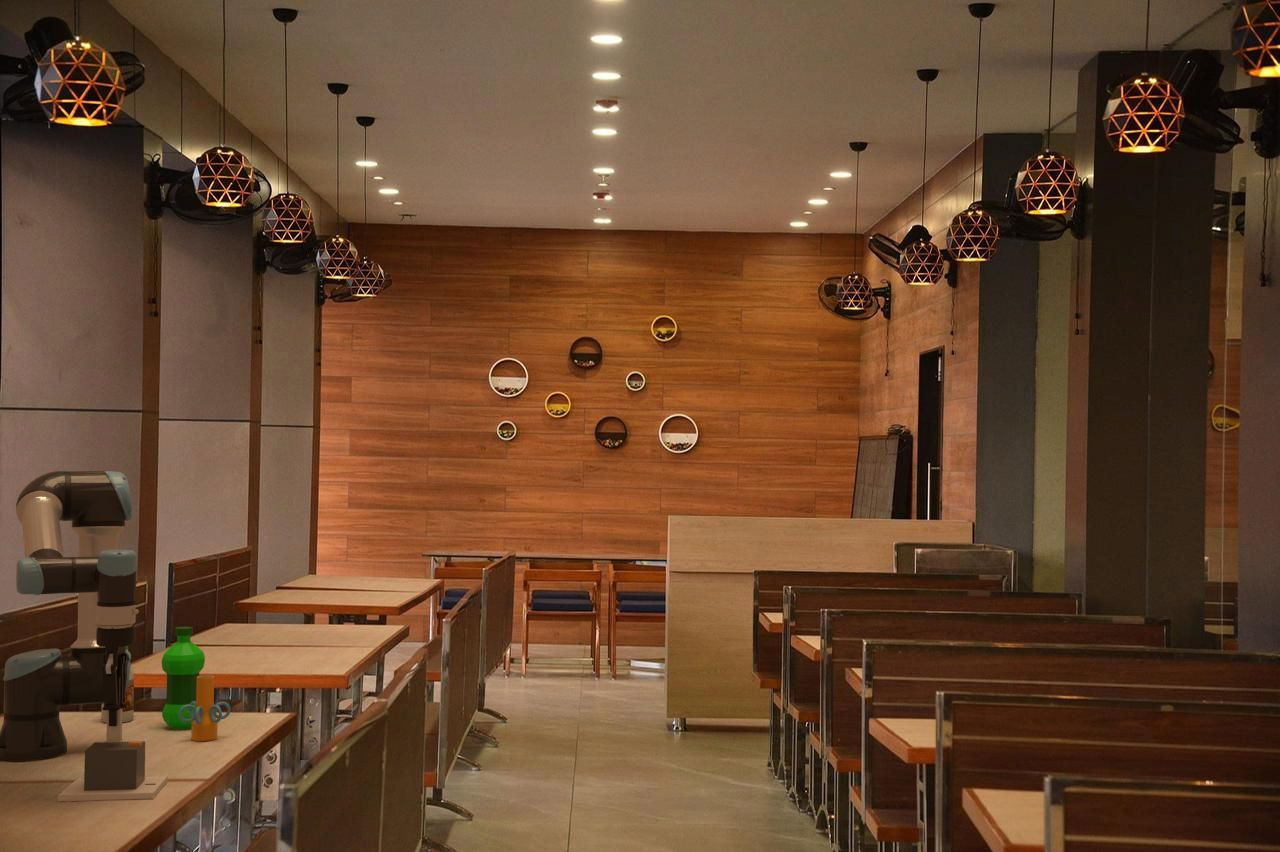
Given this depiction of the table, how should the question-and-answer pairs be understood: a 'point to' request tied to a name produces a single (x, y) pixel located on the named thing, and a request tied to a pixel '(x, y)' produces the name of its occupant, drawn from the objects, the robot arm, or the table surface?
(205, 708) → the orange tube with rings
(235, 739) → the table surface
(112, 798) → the board
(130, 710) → the milk bottle
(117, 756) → the dark grey block
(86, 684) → the robot arm
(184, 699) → the plastic bottle
